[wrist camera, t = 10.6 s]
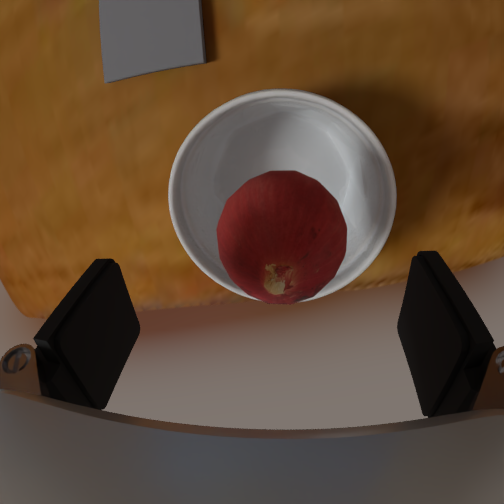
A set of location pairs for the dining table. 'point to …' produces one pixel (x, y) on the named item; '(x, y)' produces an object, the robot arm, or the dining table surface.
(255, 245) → the onion
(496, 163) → the dining table surface
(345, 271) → the ramekin
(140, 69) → the coaster
